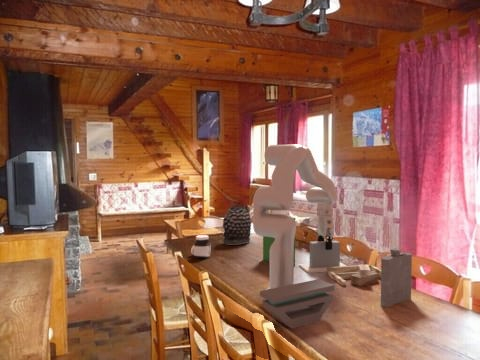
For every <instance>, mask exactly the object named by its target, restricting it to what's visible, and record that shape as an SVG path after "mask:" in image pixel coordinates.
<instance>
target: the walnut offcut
mask: <svg viewBox="0 0 480 360" xmlns="http://www.w3.org/2000/svg"><path fill="white" fill-rule="evenodd" d="M378 282H379V278H378V273H376V272H372V271H370V277H360V274H359V273H357V274H353V275H351V279H350V285H355V286H356V287H364V286H368V285H371V284H374V283H378Z"/></svg>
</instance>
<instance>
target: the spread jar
mask: <svg viewBox="0 0 480 360" xmlns="http://www.w3.org/2000/svg"><path fill="white" fill-rule="evenodd" d="M211 246H212V245H211V241H210V240H209V235H207V234H200V235H199V234H198V235H196V236H195V241H194V243H193V245H192V247H191V249H190V253H191V254H192V255H193V256H194V257H195V259H199V260H206V259H209V258H210V256H211V253H212V252H211V251H212V250H211V249H212V248H211Z"/></svg>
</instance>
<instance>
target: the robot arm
mask: <svg viewBox="0 0 480 360" xmlns="http://www.w3.org/2000/svg"><path fill="white" fill-rule="evenodd" d="M263 156H264V160H265V162H266V163H267V164H268V165H270V166H275V168H274V170H273V172H272V175H271V185H270V186H267V185H266V186H265V185H263V186H260V187H258V188H257V189H256V191H255V192H254V194H253V195H254V196H253V202H252V203H253V209H252V210H253V211H252V226H253V231H254V233H255V234H256V235H257V236H259V237H263V236H264V237H272V238H275V241H274V242H273V244H272V245H271V247H270V262H269V287H267V288H266V289H265V290H268V289H273V288H278V287H283V286H288V285H292V284H295V283H294V282H295V281H294V279H295V278H294V274H295V273H294V271H295V270H294V266H295V265H294V238H295V239H296V231H297V221H296V218H295V217H293V216H291V215H288V214H285V213H283V214H281V213H270V212H269V211H279V212H284V211H285V212H286V211H290V210H291V209H292V207H293V204H294V181H295V180H294V179H295V175H296V174H295V173H296V171H297V173H298V175H299V178H300V180H301V181H303V182H305V183H307V184H308V185H311V186H314V187H310V188H309V189H307V191H306V193H305V198H306V199H305V200H306V201H307V202H308V203H309V204H316V208H317V209H316V211H317V212H316V216H317V226H316V227H317V228H316V230H317V231H316V233H317V241H325V249H326V250H332V241H334V240H333V239H334V236H335V233H334V232H335V230H334V229H335V228H334V225H335V224H334V217H333V216H334V204H336V203H337V200H338V192H337V188H336V185H335V183H334V181H333V180H332V179H331V177H330V178H329V176H327V175H326V174H325V173H323V172H321V171H320V170H319V168H318V165H317V164H316V161H315V158H314V155H313V154H312V151H311V149H310V148H308V147H307V146H303V145H301V144H296V143H295V144H294V143H293V144H292V143H291V144H271V145H269V146H267V147H266V148H265V151H264V155H263ZM294 218H295V219H294Z"/></svg>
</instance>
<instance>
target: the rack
mask: <svg viewBox="0 0 480 360" xmlns="http://www.w3.org/2000/svg"><path fill="white" fill-rule="evenodd" d="M367 265H368V266H369V268H370V271H372V272H376V273H378V279H380V280H381V268H379V267H377V266H375V265H373V264H367ZM357 273H359V264H358V265H346V266H338V267H327V272H326V275H327V276H328V277H329V278H330V279H332V280H334V281H335V282H336V283H338V284H339V285H340V286H342V287H345V286H347V280H349V279H350V280H351V275H353V274H357Z"/></svg>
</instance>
